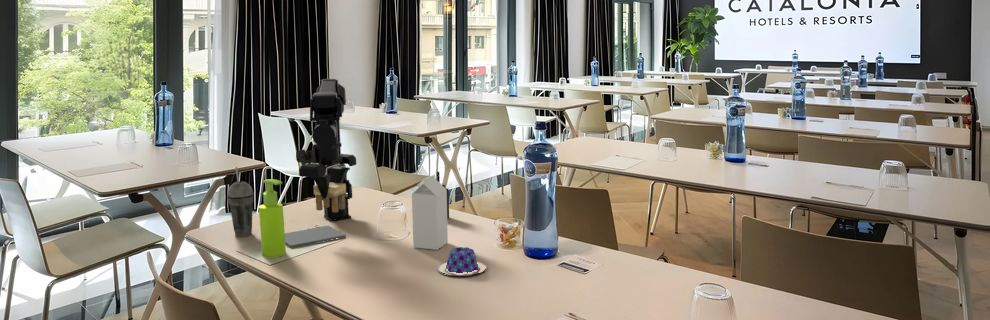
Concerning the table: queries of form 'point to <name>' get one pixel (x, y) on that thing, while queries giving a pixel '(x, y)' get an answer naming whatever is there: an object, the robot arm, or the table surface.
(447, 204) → the walkie-talkie
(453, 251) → the pudding
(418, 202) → the milk carton
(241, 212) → the beverage cup
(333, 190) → the oak stool
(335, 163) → the robot arm
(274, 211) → the soap dispenser
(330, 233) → the grey rectangular board
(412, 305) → the table surface
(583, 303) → the table surface
